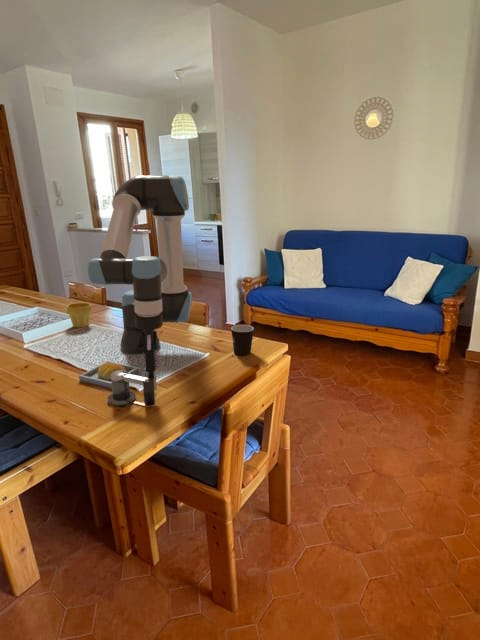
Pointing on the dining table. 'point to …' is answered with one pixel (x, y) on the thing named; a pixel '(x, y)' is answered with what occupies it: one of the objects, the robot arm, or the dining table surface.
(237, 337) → the coffee mug
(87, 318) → the plant pot
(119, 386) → the crank hub
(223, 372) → the dining table surface
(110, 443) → the dining table surface
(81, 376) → the tray
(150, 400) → the crank
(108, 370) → the bread roll
